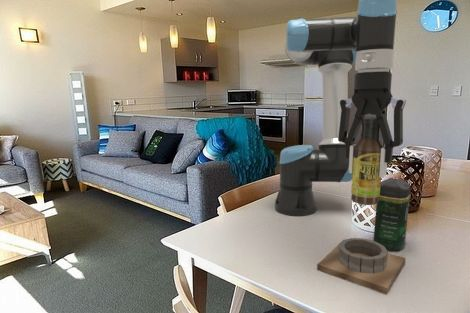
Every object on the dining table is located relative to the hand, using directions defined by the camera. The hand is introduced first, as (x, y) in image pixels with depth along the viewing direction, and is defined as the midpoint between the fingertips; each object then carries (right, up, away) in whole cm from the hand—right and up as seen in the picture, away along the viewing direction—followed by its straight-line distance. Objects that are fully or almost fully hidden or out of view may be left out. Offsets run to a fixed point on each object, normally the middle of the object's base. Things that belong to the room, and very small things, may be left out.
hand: (367, 173), depth 75 cm
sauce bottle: (0, -7, +1) cm, 7 cm away
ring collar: (+1, -23, +5) cm, 24 cm away
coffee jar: (+13, -21, +16) cm, 30 cm away
